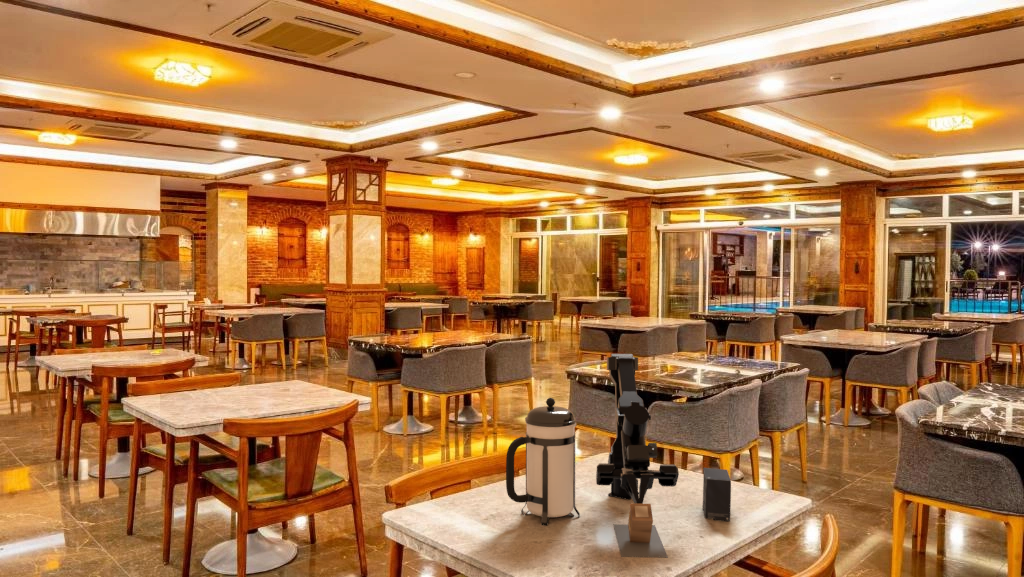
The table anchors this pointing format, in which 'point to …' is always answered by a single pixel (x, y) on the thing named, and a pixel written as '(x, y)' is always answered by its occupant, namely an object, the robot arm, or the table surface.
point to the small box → (716, 494)
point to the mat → (639, 544)
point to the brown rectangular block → (640, 523)
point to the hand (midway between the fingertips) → (639, 508)
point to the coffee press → (546, 462)
